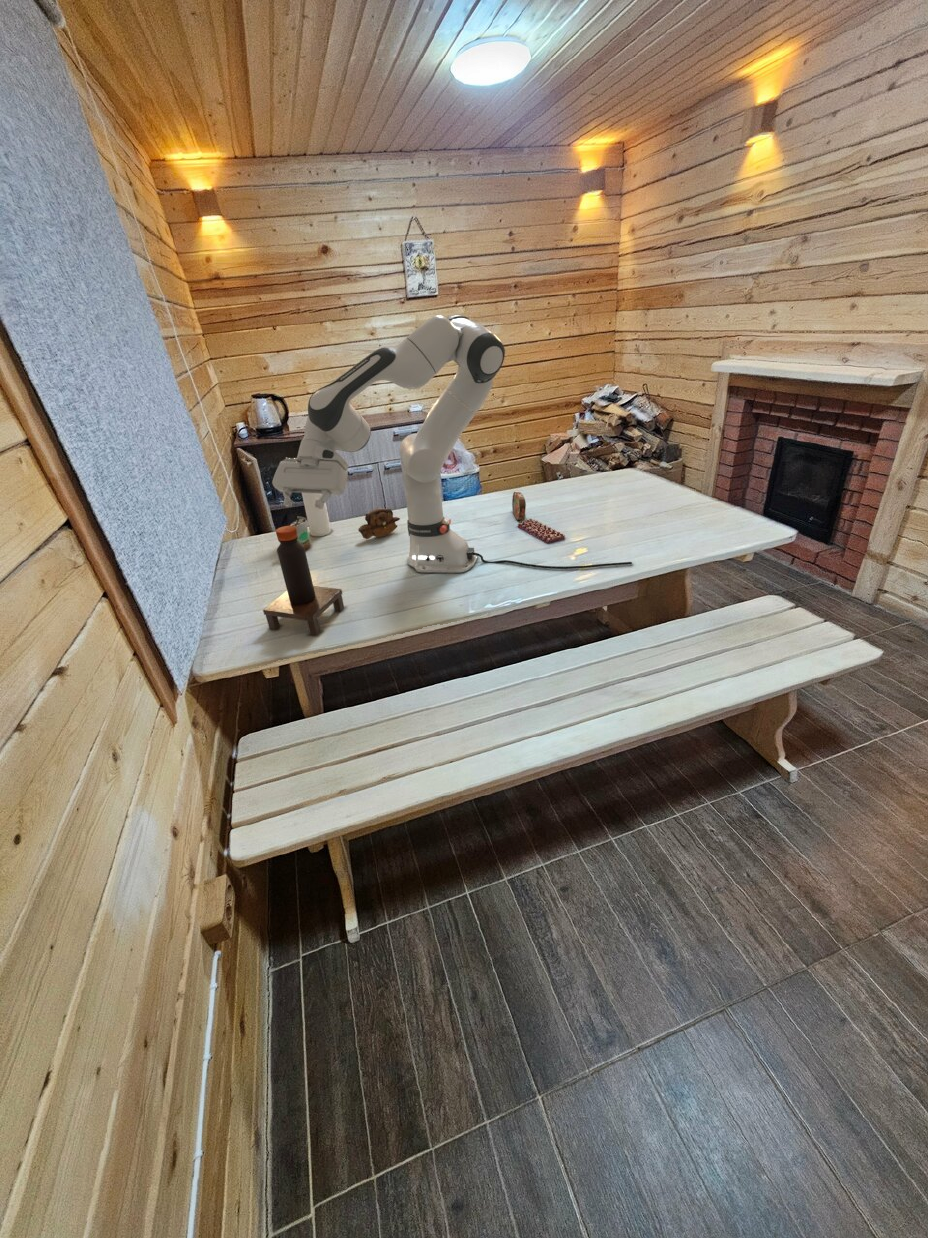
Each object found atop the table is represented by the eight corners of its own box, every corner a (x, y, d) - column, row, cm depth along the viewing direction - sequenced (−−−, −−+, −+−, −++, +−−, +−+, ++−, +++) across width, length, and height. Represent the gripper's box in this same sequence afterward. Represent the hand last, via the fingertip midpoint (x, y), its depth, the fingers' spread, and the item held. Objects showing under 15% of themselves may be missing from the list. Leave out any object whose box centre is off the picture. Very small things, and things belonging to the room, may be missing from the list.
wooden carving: (366, 544, 185) (361, 517, 180) (359, 541, 188) (354, 514, 183) (403, 531, 194) (400, 505, 189) (396, 528, 197) (393, 502, 192)
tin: (511, 509, 208) (511, 488, 203) (519, 509, 208) (519, 488, 204) (518, 523, 195) (518, 501, 191) (526, 522, 195) (526, 500, 191)
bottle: (313, 538, 193) (295, 456, 177) (308, 531, 199) (290, 451, 183) (334, 533, 196) (318, 452, 180) (328, 527, 202) (312, 448, 186)
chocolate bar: (532, 522, 195) (533, 517, 194) (564, 538, 180) (564, 533, 179) (516, 526, 192) (516, 521, 191) (547, 543, 178) (547, 537, 177)
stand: (345, 607, 147) (341, 589, 144) (317, 636, 135) (312, 616, 132) (299, 602, 151) (295, 583, 148) (268, 629, 139) (262, 609, 136)
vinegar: (284, 603, 138) (265, 533, 128) (300, 591, 143) (283, 523, 133) (305, 607, 136) (288, 535, 125) (320, 594, 141) (305, 525, 131)
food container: (303, 556, 179) (297, 529, 174) (287, 555, 180) (280, 528, 175) (319, 542, 189) (313, 515, 184) (303, 541, 190) (297, 515, 185)
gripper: (274, 451, 137) (261, 499, 135) (343, 453, 132) (330, 503, 129) (288, 463, 143) (276, 510, 141) (354, 465, 137) (342, 514, 135)
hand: (302, 506), depth 135 cm, fingers open, 8 cm apart
